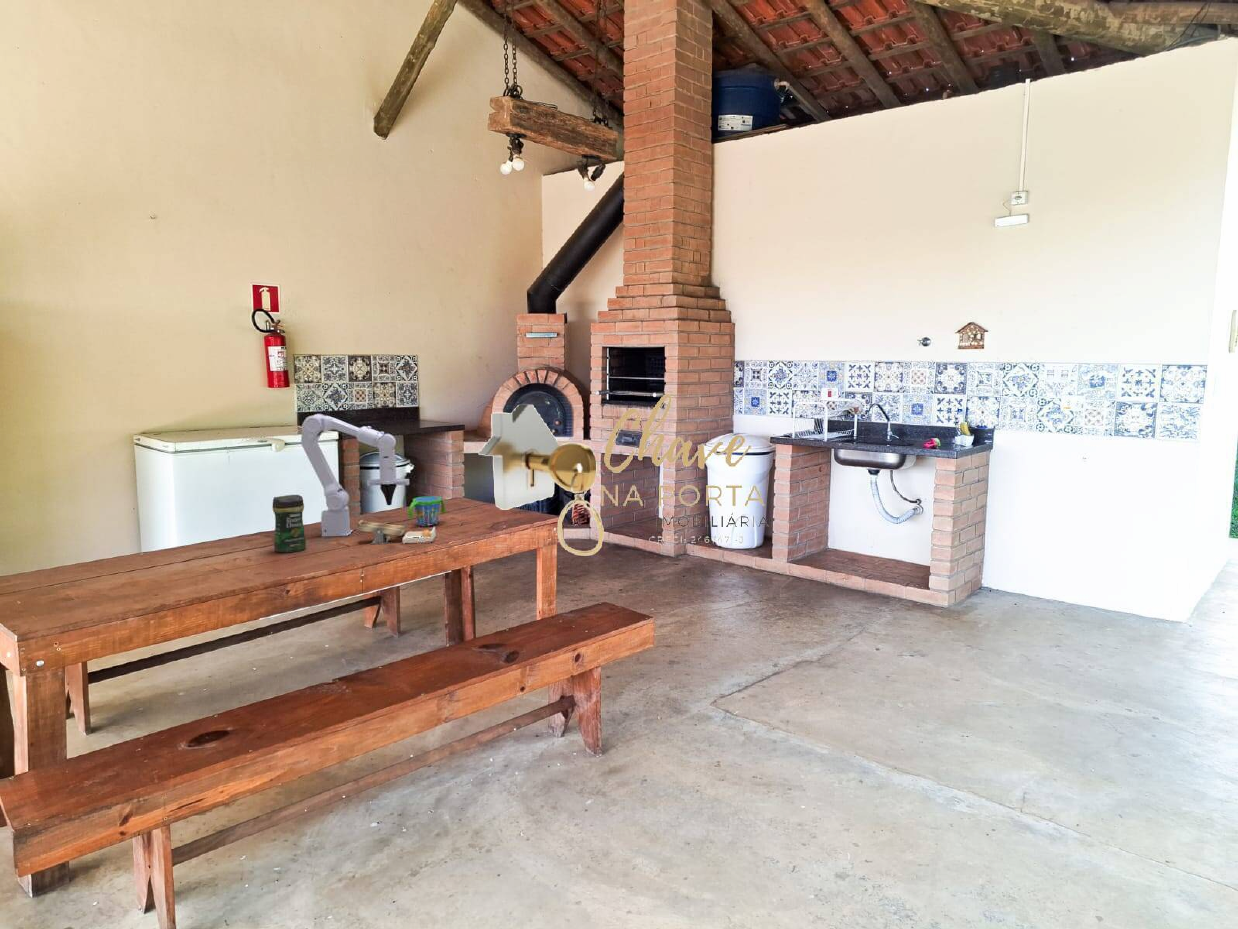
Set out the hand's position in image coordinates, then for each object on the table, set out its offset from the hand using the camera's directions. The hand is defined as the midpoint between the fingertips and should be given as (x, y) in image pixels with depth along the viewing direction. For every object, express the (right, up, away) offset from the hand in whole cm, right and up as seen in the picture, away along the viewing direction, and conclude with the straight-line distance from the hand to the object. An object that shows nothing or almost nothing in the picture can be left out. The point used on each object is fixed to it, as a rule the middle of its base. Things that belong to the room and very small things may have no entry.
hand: (389, 504), depth 292 cm
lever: (0, -8, -8) cm, 12 cm away
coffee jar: (-26, -14, -23) cm, 38 cm away
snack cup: (+11, -9, +15) cm, 20 cm away
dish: (+13, -12, -10) cm, 21 cm away
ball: (+16, -10, -10) cm, 21 cm away
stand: (0, -12, -11) cm, 17 cm away
